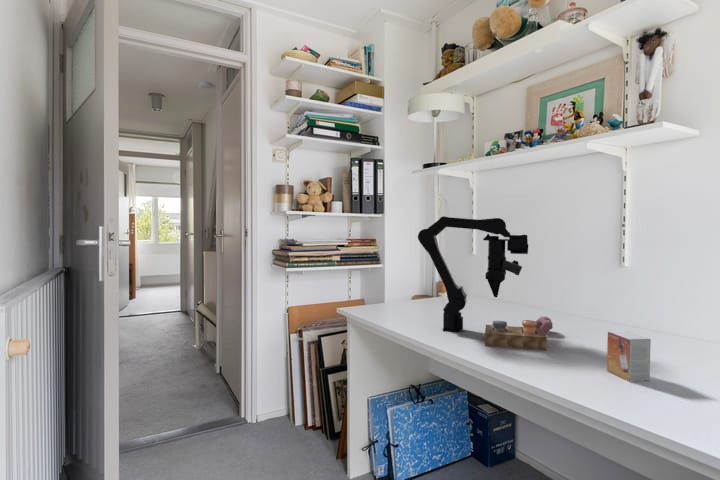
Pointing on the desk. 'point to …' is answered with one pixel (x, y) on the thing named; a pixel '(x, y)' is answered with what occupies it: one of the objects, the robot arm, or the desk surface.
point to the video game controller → (544, 324)
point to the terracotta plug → (529, 326)
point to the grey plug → (500, 326)
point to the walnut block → (516, 338)
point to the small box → (628, 355)
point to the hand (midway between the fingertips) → (495, 296)
